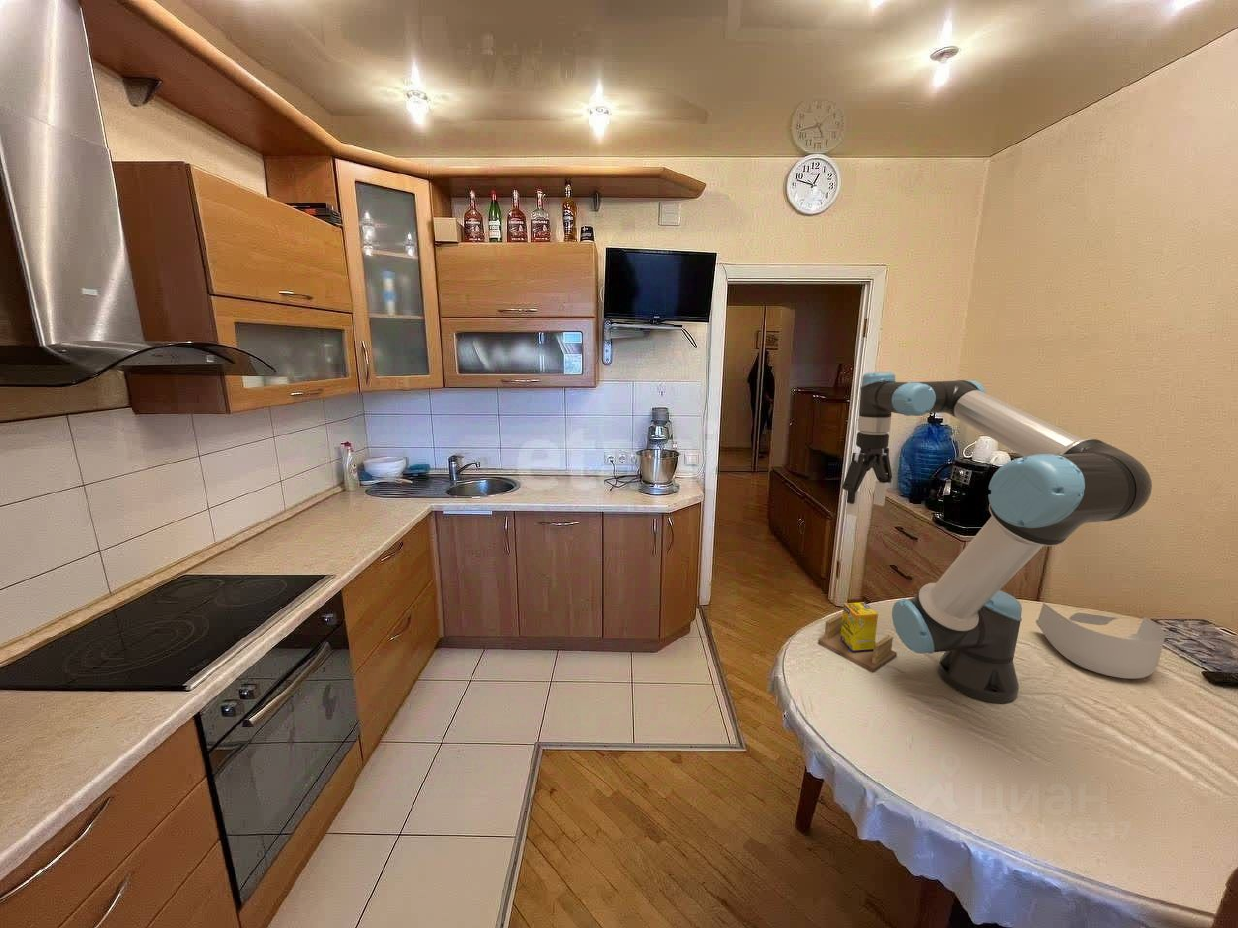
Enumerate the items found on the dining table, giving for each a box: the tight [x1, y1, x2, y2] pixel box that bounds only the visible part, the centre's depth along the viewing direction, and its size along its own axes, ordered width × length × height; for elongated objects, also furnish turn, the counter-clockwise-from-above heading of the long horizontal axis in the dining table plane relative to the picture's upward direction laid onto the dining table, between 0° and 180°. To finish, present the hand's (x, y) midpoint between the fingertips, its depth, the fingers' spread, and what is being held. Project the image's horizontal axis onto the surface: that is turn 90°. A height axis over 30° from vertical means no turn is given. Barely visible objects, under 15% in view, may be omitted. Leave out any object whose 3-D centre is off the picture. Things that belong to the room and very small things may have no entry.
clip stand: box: [817, 613, 898, 674], centre depth 124 cm, size 15×11×6 cm
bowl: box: [1035, 602, 1166, 680], centre depth 118 cm, size 20×19×12 cm
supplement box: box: [840, 601, 879, 653], centre depth 124 cm, size 6×6×11 cm
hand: (865, 509), depth 129 cm, fingers open, 13 cm apart
